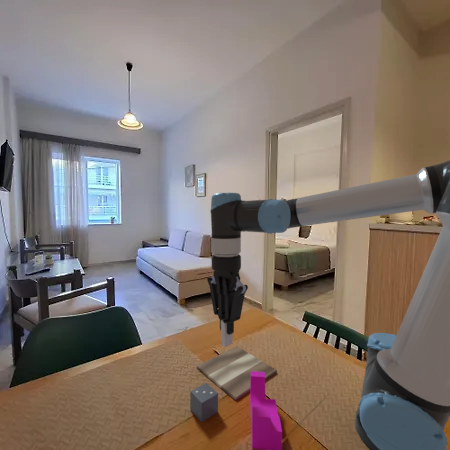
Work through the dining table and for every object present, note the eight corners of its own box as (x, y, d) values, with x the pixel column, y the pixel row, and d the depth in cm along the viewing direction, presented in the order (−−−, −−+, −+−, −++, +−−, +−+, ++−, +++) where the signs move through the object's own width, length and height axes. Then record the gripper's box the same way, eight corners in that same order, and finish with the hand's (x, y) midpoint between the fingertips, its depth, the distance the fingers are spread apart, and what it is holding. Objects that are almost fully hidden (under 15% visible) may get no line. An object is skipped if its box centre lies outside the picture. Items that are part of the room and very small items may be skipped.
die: (218, 411, 64) (218, 392, 64) (201, 422, 61) (201, 402, 60) (206, 400, 68) (206, 381, 68) (190, 409, 65) (190, 390, 64)
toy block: (281, 451, 54) (282, 418, 53) (252, 449, 54) (252, 416, 54) (273, 398, 69) (273, 372, 68) (250, 397, 69) (250, 371, 69)
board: (276, 372, 80) (276, 369, 80) (235, 400, 68) (235, 397, 68) (236, 348, 93) (236, 346, 93) (196, 368, 81) (196, 365, 81)
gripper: (255, 255, 62) (255, 348, 63) (220, 249, 72) (220, 330, 73) (233, 259, 57) (234, 360, 58) (198, 252, 67) (200, 340, 68)
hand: (226, 344), depth 66 cm, fingers closed
